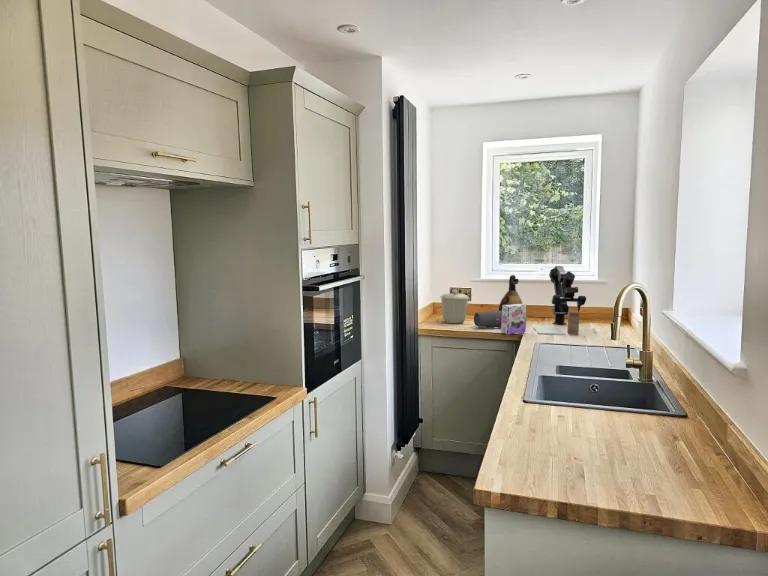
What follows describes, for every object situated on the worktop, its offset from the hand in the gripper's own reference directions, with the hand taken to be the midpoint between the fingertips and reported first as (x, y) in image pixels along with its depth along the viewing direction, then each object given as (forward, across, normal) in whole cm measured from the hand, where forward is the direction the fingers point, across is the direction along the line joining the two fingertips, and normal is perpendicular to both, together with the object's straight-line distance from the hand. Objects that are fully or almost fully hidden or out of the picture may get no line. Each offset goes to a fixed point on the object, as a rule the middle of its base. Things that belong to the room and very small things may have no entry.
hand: (570, 311), depth 306 cm
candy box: (+15, -34, +3) cm, 37 cm away
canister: (-6, -66, +24) cm, 71 cm away
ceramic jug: (-14, -30, +32) cm, 46 cm away
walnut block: (+14, 0, +4) cm, 14 cm away
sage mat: (+8, -12, +10) cm, 17 cm away
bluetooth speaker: (+3, -43, +14) cm, 46 cm away
